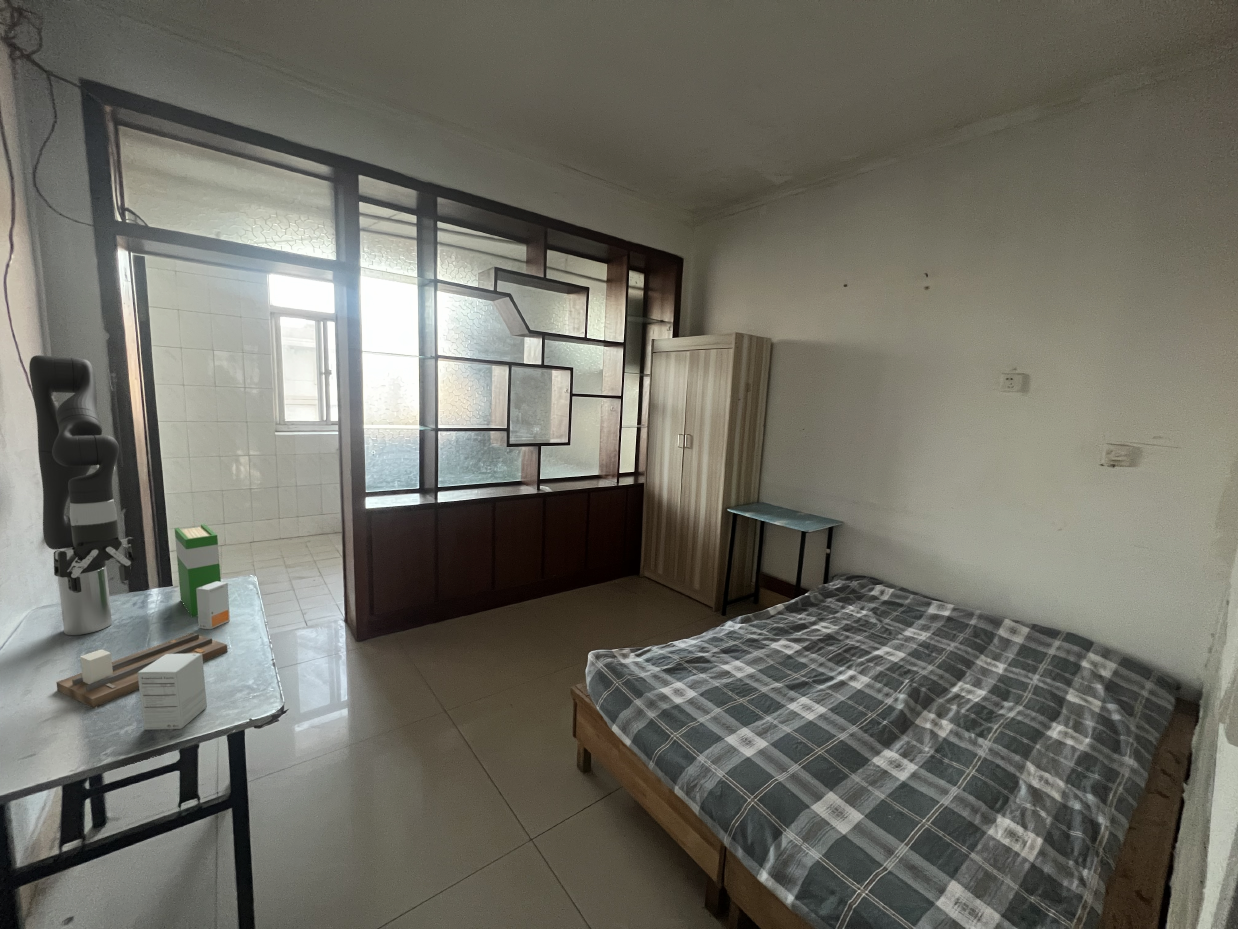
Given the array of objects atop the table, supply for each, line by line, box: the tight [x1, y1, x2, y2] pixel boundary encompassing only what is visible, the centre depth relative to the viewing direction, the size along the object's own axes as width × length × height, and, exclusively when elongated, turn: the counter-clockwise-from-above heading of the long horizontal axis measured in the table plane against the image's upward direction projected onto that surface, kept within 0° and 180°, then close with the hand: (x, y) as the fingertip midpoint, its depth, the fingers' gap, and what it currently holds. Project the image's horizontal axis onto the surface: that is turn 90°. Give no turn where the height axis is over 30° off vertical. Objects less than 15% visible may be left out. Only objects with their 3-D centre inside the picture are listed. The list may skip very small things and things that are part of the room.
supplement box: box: [138, 653, 208, 731], centre depth 102 cm, size 7×7×13 cm
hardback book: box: [174, 523, 222, 618], centre depth 155 cm, size 18×7×24 cm, turn 49°
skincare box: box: [196, 581, 231, 630], centre depth 143 cm, size 6×4×12 cm
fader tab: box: [79, 649, 113, 684], centre depth 111 cm, size 4×4×6 cm
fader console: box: [56, 632, 228, 708], centre depth 120 cm, size 15×26×3 cm, turn 158°
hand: (101, 586), depth 118 cm, fingers open, 8 cm apart
